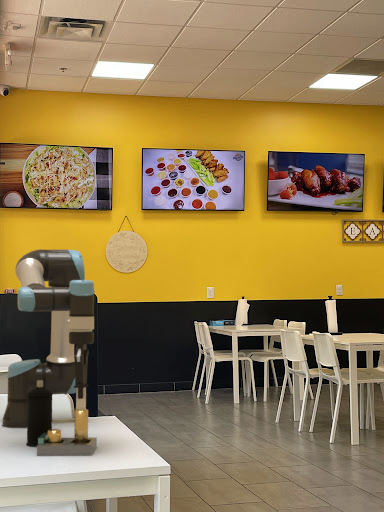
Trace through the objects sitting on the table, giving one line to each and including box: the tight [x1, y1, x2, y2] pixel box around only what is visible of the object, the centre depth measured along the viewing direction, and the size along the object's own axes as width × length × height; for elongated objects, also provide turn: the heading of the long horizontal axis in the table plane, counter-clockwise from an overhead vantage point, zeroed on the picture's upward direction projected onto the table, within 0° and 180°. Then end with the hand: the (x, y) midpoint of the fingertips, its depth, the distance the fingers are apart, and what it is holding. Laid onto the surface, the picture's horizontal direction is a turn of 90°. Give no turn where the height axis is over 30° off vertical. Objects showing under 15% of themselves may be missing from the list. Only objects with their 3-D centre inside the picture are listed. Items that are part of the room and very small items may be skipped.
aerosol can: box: [25, 380, 54, 448], centre depth 233 cm, size 8×8×20 cm
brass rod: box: [73, 408, 89, 443], centre depth 222 cm, size 4×4×12 cm
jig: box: [36, 428, 98, 457], centre depth 221 cm, size 12×16×6 cm
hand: (81, 409), depth 222 cm, fingers closed
